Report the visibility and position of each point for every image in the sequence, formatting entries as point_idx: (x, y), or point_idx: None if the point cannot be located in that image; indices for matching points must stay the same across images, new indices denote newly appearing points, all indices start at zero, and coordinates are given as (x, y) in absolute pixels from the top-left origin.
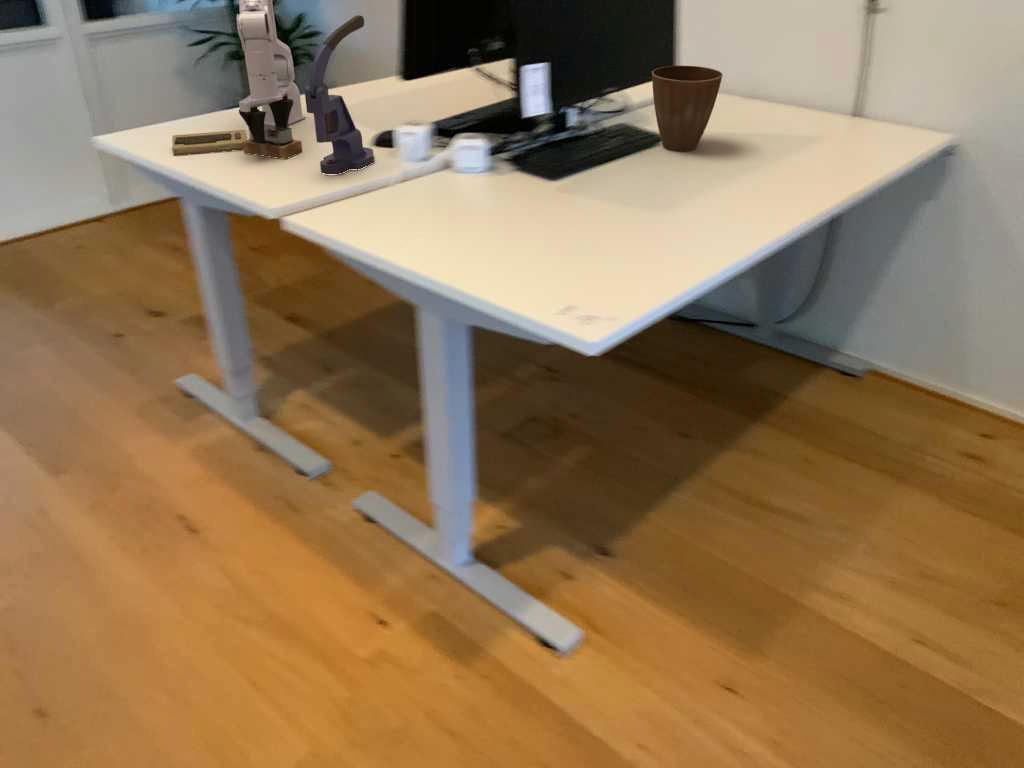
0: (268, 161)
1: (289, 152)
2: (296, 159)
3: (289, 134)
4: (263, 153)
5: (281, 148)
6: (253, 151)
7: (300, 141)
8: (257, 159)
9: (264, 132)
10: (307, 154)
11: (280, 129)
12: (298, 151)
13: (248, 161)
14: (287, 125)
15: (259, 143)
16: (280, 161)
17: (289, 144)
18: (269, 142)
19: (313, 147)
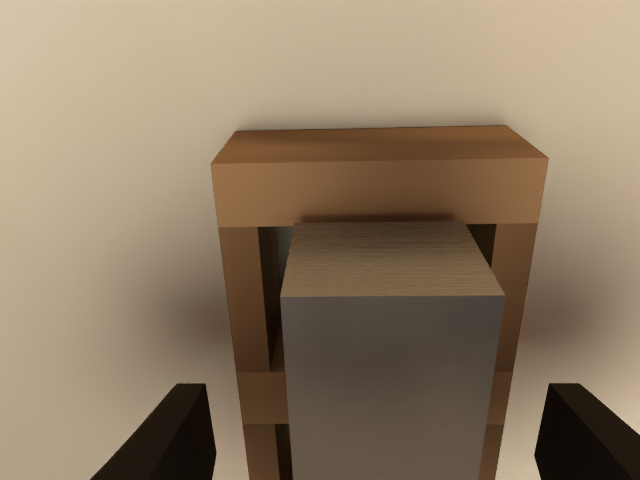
0: (595, 229)
1: (439, 139)
2: (457, 29)
3: (340, 257)
4: None
5: (538, 188)
6: None
7: (223, 160)
8: (567, 332)
9: (620, 459)
10: (266, 36)
11: (411, 378)
12: (290, 135)
13: (635, 357)
14: (133, 439)
15: None
16: (567, 134)
17: (396, 187)
18: None
19: (60, 132)
